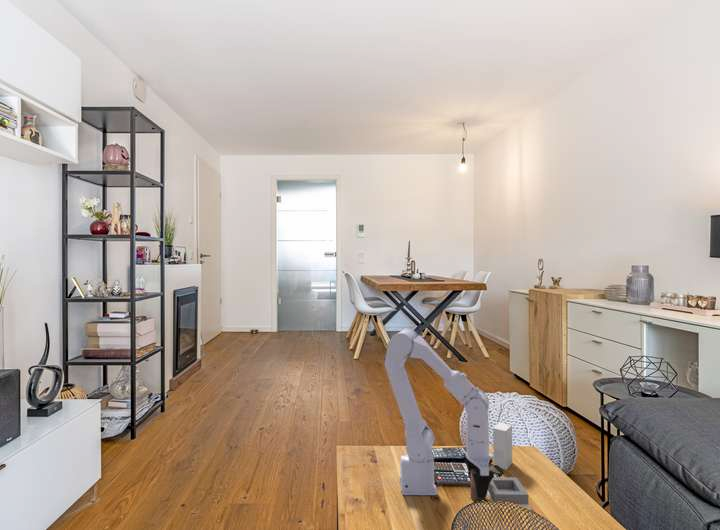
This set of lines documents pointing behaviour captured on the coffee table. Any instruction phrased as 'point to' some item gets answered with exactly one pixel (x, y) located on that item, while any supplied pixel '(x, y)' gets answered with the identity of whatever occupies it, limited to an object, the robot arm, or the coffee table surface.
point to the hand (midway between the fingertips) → (477, 489)
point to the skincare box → (502, 445)
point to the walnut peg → (474, 491)
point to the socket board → (508, 491)
